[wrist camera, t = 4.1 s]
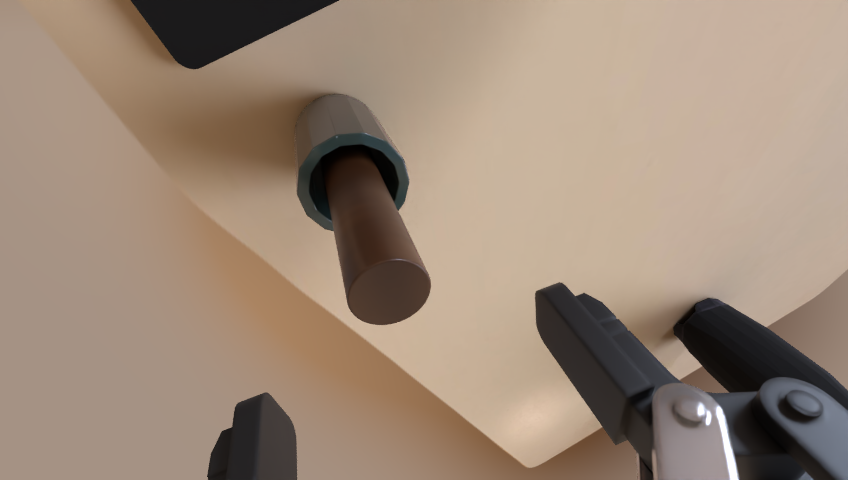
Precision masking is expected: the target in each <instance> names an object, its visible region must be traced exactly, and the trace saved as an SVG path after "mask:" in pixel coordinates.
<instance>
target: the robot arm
mask: <svg viewBox="0 0 848 480" xmlns="http://www.w3.org/2000/svg"><path fill="white" fill-rule="evenodd" d="M535 302H536V325H537V329H538V332H539V334H540V336H541V338H542V340H543V342H544V344H545V345H546V346H547V348H548V349H549V351H550V352H551V354H552V355H553V356H554V358H555V359H556V361H557V362H558V364H559V365H560V366H561V368H562V369H563V371H564V372H565V374H566V375H567V376H568V378H569V379H570V381H571V382H572V384H573V385H574V386H575V388H576V389H577V391H578V392H579V394H580V395H581V396H582V398H583V399H584V401H585V402H586V404H587V405H588V406H589V408H590V409H591V411H592V412H593V414H594V415H595V416H596V418H597V419H598V421H599V422H600V424H601V425H602V426H603V428H604V429H605V431H606V432H607V434H608V435H609V436H610V438H611V439H612V441H613V442H614V444H615V445H617V444H619V443H622V442H624V441H626V440H628V441H629V442H630V443H631V445H632V446H633V447H634V449H635V450H636V466H637V480H848V410H847V409H845V408H844V407H843V406H842V405H841V404H839V403H838V402H837V401H836V400H835V399H833V398H832V397H831V396H830V395H828V394H827V393H826V392H824V391H823V390H821V389H819V388H818V387H816V386H814V385H812V384H810V383H807V382H805V381H802V380H798V379H794V378H788V377H777V378H772V379H769V380H767V381H766V382H765V383H763V385H762V386H761V388H760V389H759V391H755V392H735V393H709V392H704V391H703V390H701V389H699V388H697V387H694V386H691V385H688V384H684V383H682V382H681V381H679V380H678V379H677V378H675V377H674V376H673V375H672V374H671V373H670V372H669V371H668V370H667V369H666V368H665V367H664V366H663V365H662V364H661V363H660V362H659V361H658V360H657V359H656V358H655V357H654V356H653V355H652V354H651V352H650V351H649V350H648V349H647V348H646V347H645V346H644V345H643V344H642V343H641V342H640V341H639V340H638V339H637V338H636V337H635V336H634V335H633V334H632V333H631V332H630V331H628V330H627V328H626V327H625V326H624V325H623V323H622V322H621V321H620V320H619V319H616V316H615V315H614V314H613V313H612V312H611V311H610V310H609V309H608V308H607V307H606V306H605V305H604V304H603V303H602V302H600V301H598V300H597V299H595V298H593V297H591V296H589V295H587V294H585V293H583V294H580V295H578V296H574V295H573V293H572V292H571V291H570V290H569V289H568V288H567V287H566V286H565V285H564V284H563V283H560V282H559V283H556V284H554V285H551V286H548V287H546V288H543V289H540V290H538V291H536V293H535ZM296 451H297V450H296V434H295V430H294V426H293V423H292V421H291V419H290V418H289V416H288V415H287V414H286V413H285V412H284V410H283V409H282V408H281V407H280V406H279V405H278V403H277V402H276V401H275V400H274V399H273V397H272V396H271V395H270V394H269V393H263V394H260V395H257V396H255V397H252V398H250V399H247V400H244V401H242V402H239V403H238V404H237V405H236V407H235V411H234V418H233V427H232V428H229V429H226V430H224V431H222V432H221V434H220V437H219V438H218V441H217V443H216V445H215V447H214V449H213V451H212V453H211V458H210V463H209V469H208V475H207V477H208V480H297V455H296V454H297V452H296Z"/></svg>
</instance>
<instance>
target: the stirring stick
mask: <svg viewBox="0 0 848 480" xmlns="http://www.w3.org/2000/svg"><path fill="white" fill-rule="evenodd" d="M320 160H321V165H322V171H323V176H324V181H325V186H326V192H327V197H328V202H329V208H330V213H331V218H332V224H333V229H334V234H335V240H336V245H337V250H338V255H339V261H340V266H341V271H342V277H343V282H344V287H345V293H346V298H347V303H348V306H349V309H350V310H351V312H352V313H353V314H354V315H355V316H356V317H357V318H358V319H360V320H362V321H364V322H366V323H369V324H375V325H387V324H393V323H397V322H400V321H402V320H405V319H407V318H408V317H410V316H412V315H413V314H415V313H416V312H417V311H418V310H419V309H420V308H421V307H422V306H423V305H424V303H425V302H426V300H427V298H428V296H429V293H430V288H431V281H430V277H429V274H428V272H427V270H426V268H425V266H424V264H423V262H422V260H421V258H420V256H419V254H418V252H417V249H416V247H415V245H414V243H413V241H412V239H411V237H410V235H409V233H408V231H407V229H406V226H405V224H404V222H403V220H402V218H401V216H400V214H399V212H398V210H397V208H396V206H395V204H394V201H393V199H392V197H391V195H390V193H389V191H388V189H387V187H386V185H385V183H384V181H383V179H382V176H381V174H380V172H379V170H378V168H377V166H376V164H375V162H374V160H373V158H372V156H371V154H370V151H369V149H368V147H367V146H365V145H363V144H359V145H347V146H340V147H338V148H336V149H334V150H333V151H331V152H329V153H327V154H326V155H324V156H322V157H321V159H320Z"/></svg>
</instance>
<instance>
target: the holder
mask: <svg viewBox="0 0 848 480" xmlns="http://www.w3.org/2000/svg"><path fill="white" fill-rule="evenodd" d="M359 144H363V145H365V146H367V147H368V149H369V151H370V154H371V156H372V158H373V160H374V162H375V164H376V166H377V168H378V170H379V172H380V174H381V176H382V179H383V181H384V183H385V185H386V187H387V189H388V191H389V193H390V195H391V197H392V199H393V201H394V204H395V206H396V208H397V210H399V209H400V208H401V207H402V205H403V204H404V202H405V198H406V194H407V190H408V185H409V177H408V173H407V169H406V165H405V161H404V159H403V157H402V156H401V154H400V153H399V151H398V150H397V148H396V146H395V145H394V143H393V142H392V140H391V139H390V137H389V136H388V134H387V133H386V131H385V129H384V128H383V126H382V125H381V123H380V122H379V120H378V119H377V117H376V116H375V115H374V114H373V113H372V111H371V110H370V109H369V108H368V107H367V106H366V105H365V104H364V103H362V102H361V101H359V100H357V99H355V98H353V97H350V96H347V95H342V94H332V95H326V96H323V97H320V98H318V99H316V100H314V101H312V102H311V103H310V104H308V105H307V106H306V107H305V108H304V110H303V111H302V112H301V114H300V116H299V118H298V120H297V123H296V126H295V142H294V146H295V166H296V186H297V196H298V198H299V200H300V202H301V204H302V206H303V208H304V210H305V212H306V214H307V216H309V217H310V218H311V219H312V220H314V221H315V222H316V223H318V224H319V225H320V226H322V227H323V228H324V229H327V230H331V231H334V229H333V224H332V218H331V213H330V208H329V202H328V197H327V192H326V186H325V181H324V176H323V171H322V165H321V160H320V159H321V157H322V156H324V155H326V154H327V153H329V152H331V151H333V150H334V149H336V148H338V147H340V146H347V145H359Z"/></svg>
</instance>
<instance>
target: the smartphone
mask: <svg viewBox="0 0 848 480" xmlns="http://www.w3.org/2000/svg"><path fill="white" fill-rule="evenodd" d="M131 1H132V3H133V4H134V5H135V7H136V8H137V9H138V11H139V12H140V13H141V15H142V16H143V17H144V19H145V20H146V22H147V23H148V24H149V26H150V27H151V28H152V30H153V31H154V32H155V34H156V35H157V36H158V38H159V39H160V40H161V42H162V43H163V44H164V46H165V47H166V48H167V50H168V51H169V52H170V54H171V55H172V56H173V58H174V59H175V60H176V61H177V62H178V63H179V64H181V65H182V66H184V67H186V68H189V69H199V68H201V67H203V66H205V65H207V64H209V63H212V62H214V61H216V60H218V59H220V58H222V57H224V56H226V55H228V54H230V53H232V52H234V51H236V50H238V49H240V48H242V47H244V46H246V45H248V44H251V43H253V42H255V41H257V40H259V39H261V38H263V37H265V36H267V35H269V34H271V33H273V32H275V31H277V30H279V29H281V28H283V27H285V26H287V25H290V24H292V23H294V22H296V21H298V20H300V19H302V18H304V17H306V16H308V15H310V14H312V13H314V12H316V11H318V10H320V9H322V8H324V7H326V6H329V5H331V4H333V3H335V2H337V1H339V0H131Z"/></svg>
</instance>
